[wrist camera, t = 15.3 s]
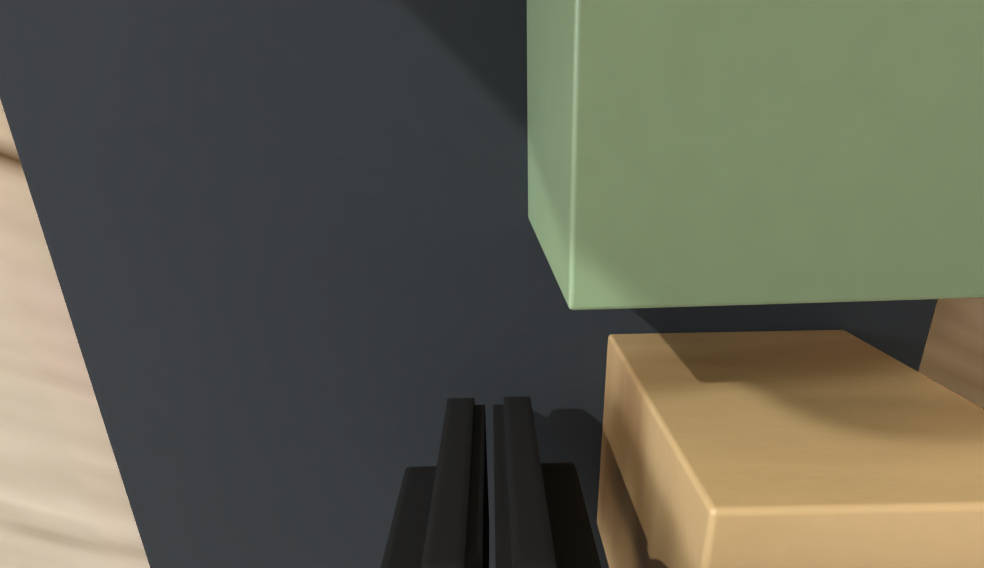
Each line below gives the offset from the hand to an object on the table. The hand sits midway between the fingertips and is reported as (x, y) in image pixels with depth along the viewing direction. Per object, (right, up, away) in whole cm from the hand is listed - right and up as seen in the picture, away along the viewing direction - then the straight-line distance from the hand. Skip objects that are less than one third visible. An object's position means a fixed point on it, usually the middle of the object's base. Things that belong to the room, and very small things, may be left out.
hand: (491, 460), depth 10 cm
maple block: (+5, 0, +1) cm, 5 cm away
